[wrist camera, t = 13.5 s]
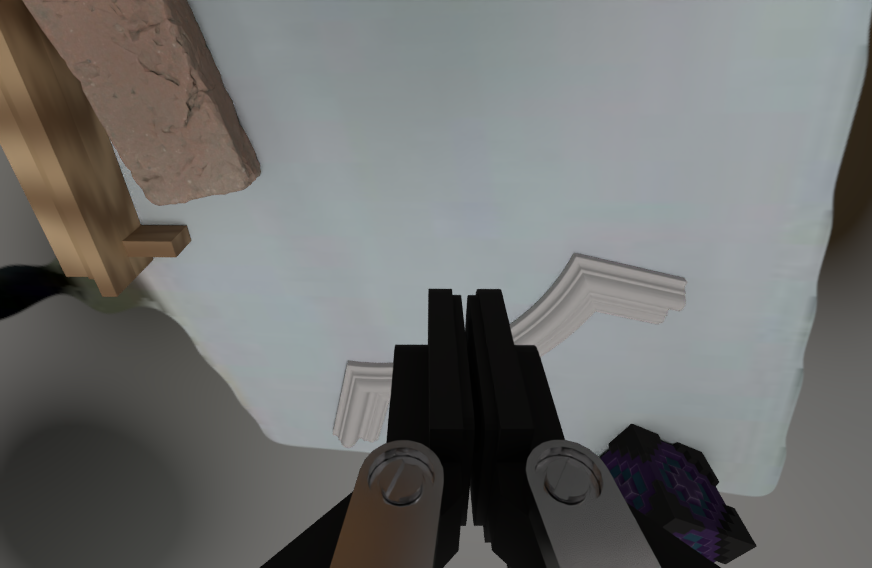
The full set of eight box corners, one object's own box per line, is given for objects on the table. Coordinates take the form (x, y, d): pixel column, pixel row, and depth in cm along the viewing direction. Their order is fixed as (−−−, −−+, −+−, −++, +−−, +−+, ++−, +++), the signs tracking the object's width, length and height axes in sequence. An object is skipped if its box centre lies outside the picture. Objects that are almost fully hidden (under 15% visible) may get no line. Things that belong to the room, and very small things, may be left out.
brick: (268, 173, 39) (250, 194, 35) (176, 194, 40) (149, 217, 36) (164, -68, 30) (125, -76, 26) (49, -35, 31) (-6, -37, 27)
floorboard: (-100, -151, 27) (-218, -180, 22) (72, -147, 28) (-6, -174, 23) (87, 259, 43) (42, 296, 38) (197, 259, 43) (167, 296, 38)
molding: (353, 442, 59) (350, 462, 57) (290, 384, 53) (284, 404, 51) (690, 302, 48) (705, 319, 45) (658, 208, 42) (673, 223, 39)
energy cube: (701, 451, 60) (756, 546, 50) (638, 499, 66) (676, 592, 56) (631, 423, 57) (675, 518, 47) (570, 475, 63) (598, 570, 53)
